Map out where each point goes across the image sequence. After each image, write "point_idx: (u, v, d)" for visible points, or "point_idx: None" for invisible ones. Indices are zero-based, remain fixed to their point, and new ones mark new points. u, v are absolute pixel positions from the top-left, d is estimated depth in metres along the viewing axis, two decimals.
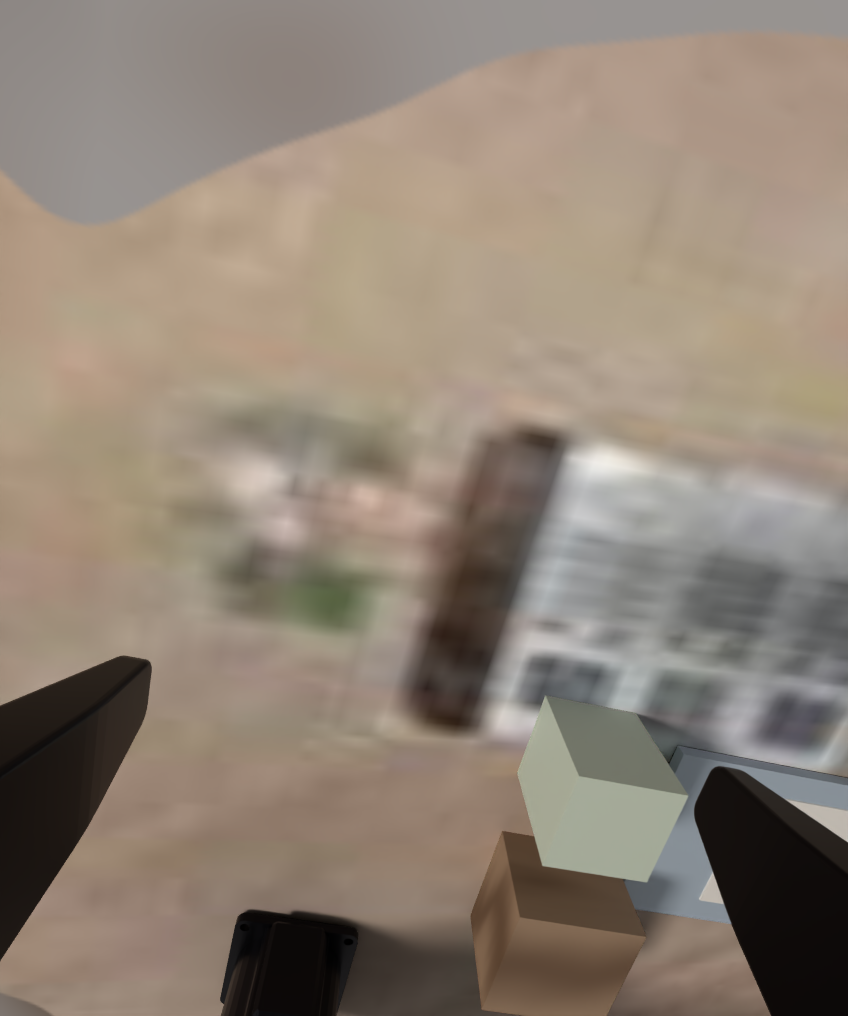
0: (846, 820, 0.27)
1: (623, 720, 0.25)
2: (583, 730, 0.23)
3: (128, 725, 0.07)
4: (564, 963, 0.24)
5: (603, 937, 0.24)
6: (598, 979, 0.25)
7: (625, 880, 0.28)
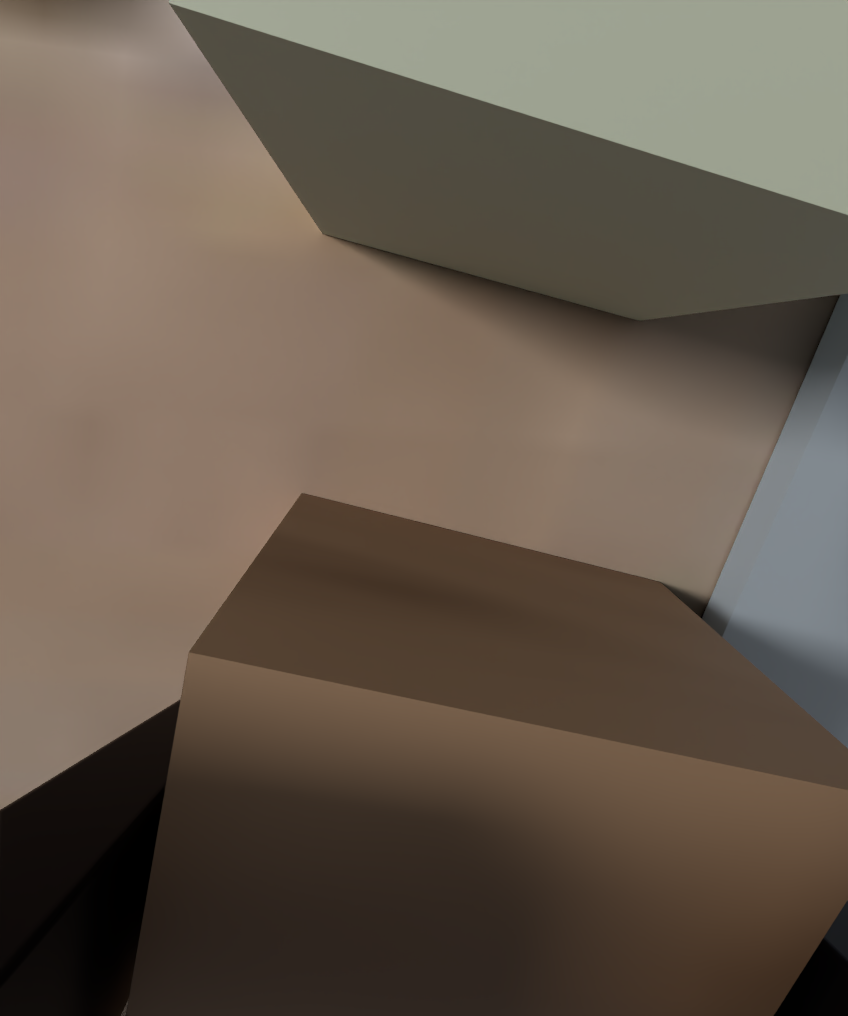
0: None
1: None
2: None
3: None
4: (476, 942, 0.05)
5: (682, 802, 0.04)
6: None
7: None
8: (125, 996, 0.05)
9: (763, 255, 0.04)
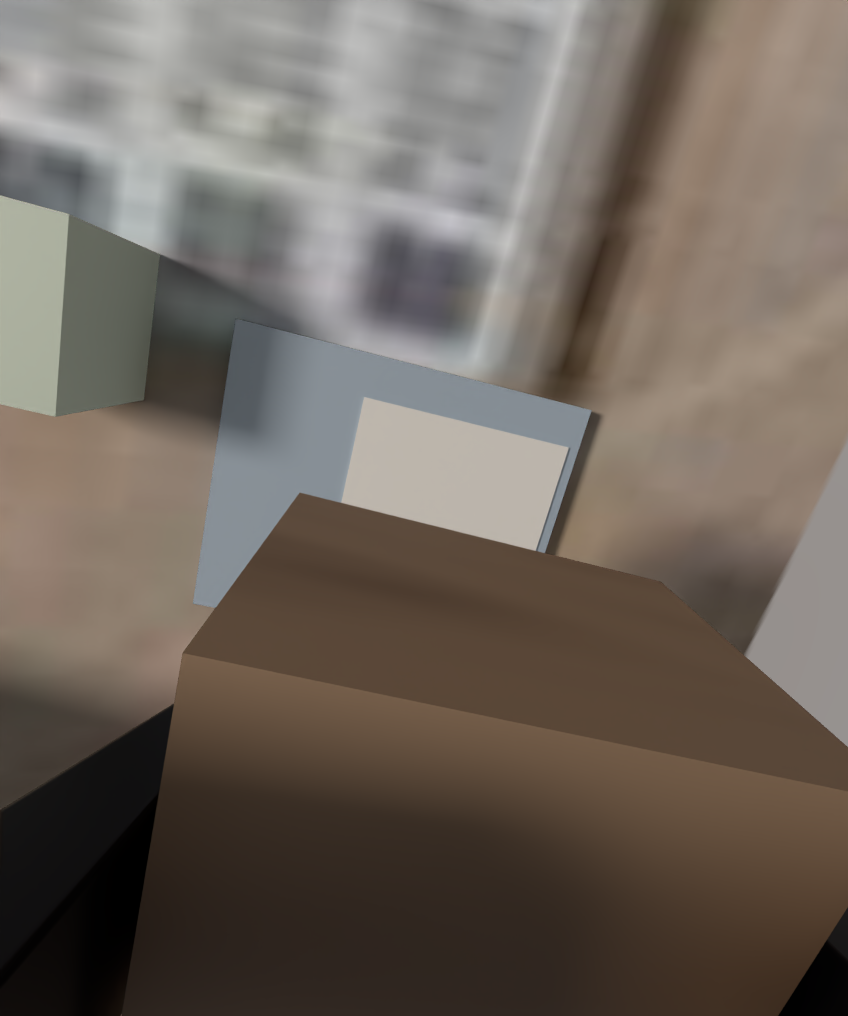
0: (514, 452, 0.18)
1: None
2: None
3: None
4: (476, 947, 0.05)
5: (683, 804, 0.04)
6: None
7: (200, 557, 0.19)
8: None
9: None
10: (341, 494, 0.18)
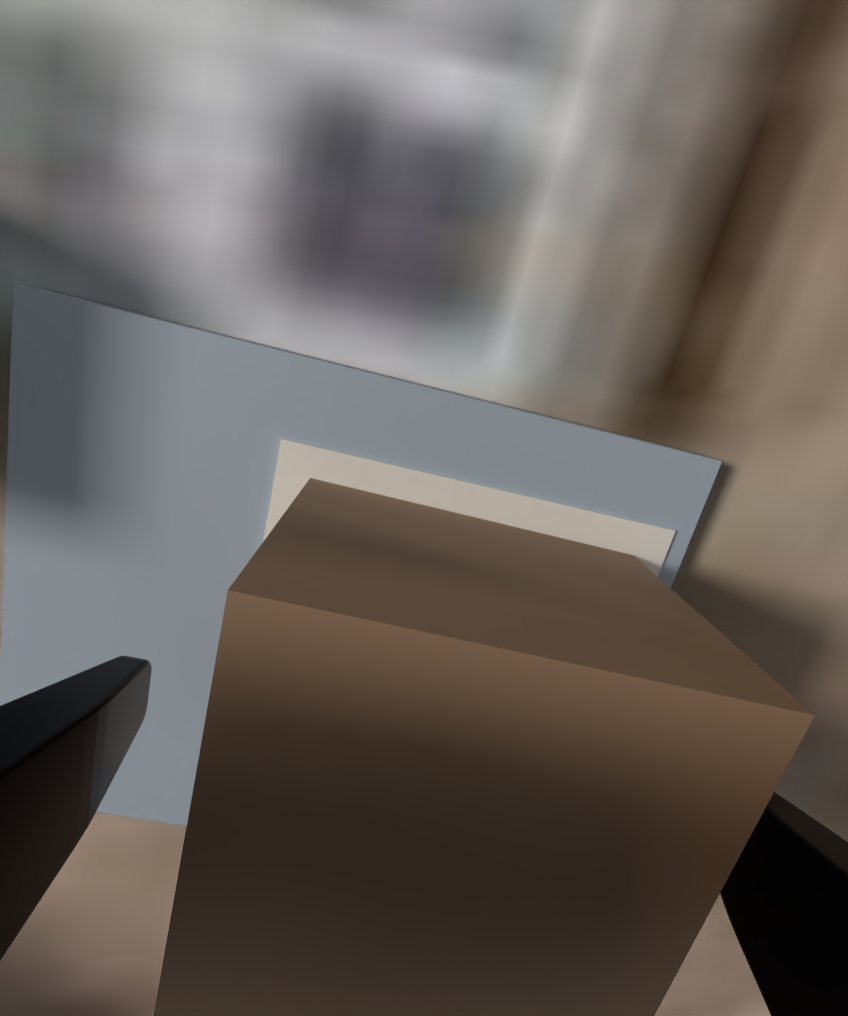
0: (572, 539, 0.10)
1: None
2: None
3: (128, 725, 0.07)
4: (462, 837, 0.06)
5: (628, 715, 0.05)
6: (602, 910, 0.06)
7: None
8: None
9: None
10: None
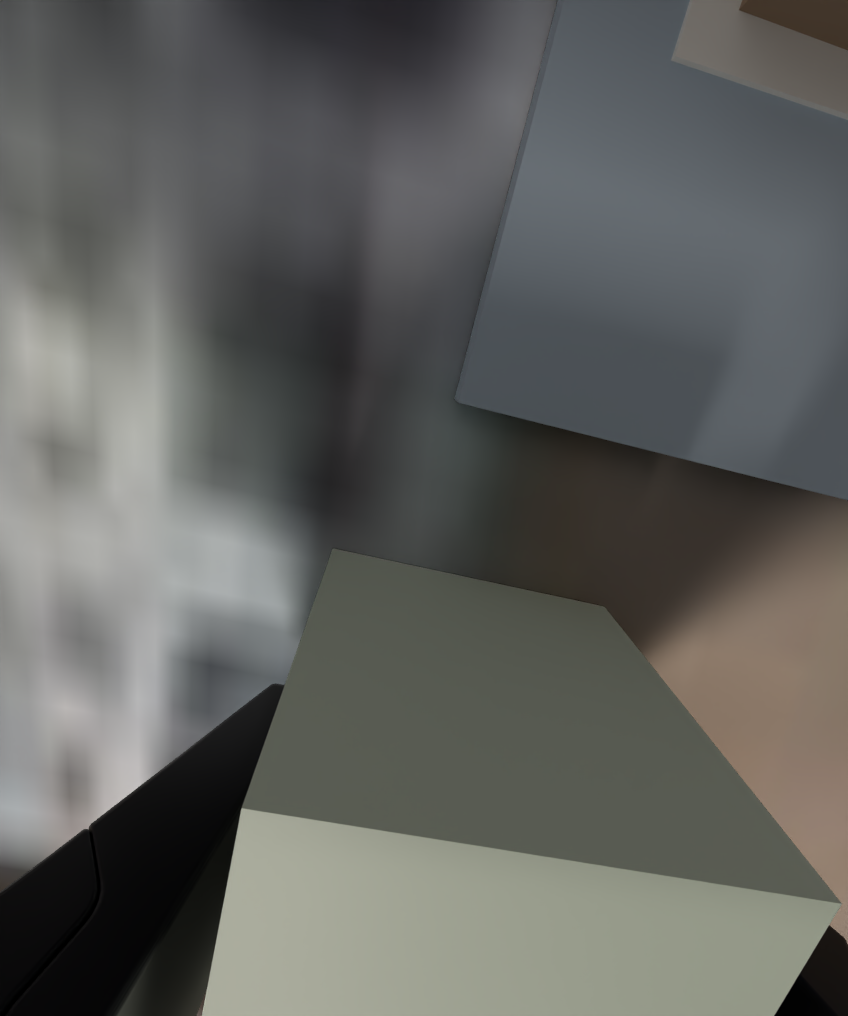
0: None
1: None
2: None
3: None
4: None
5: None
6: None
7: None
8: (198, 1005, 0.05)
9: None
10: None
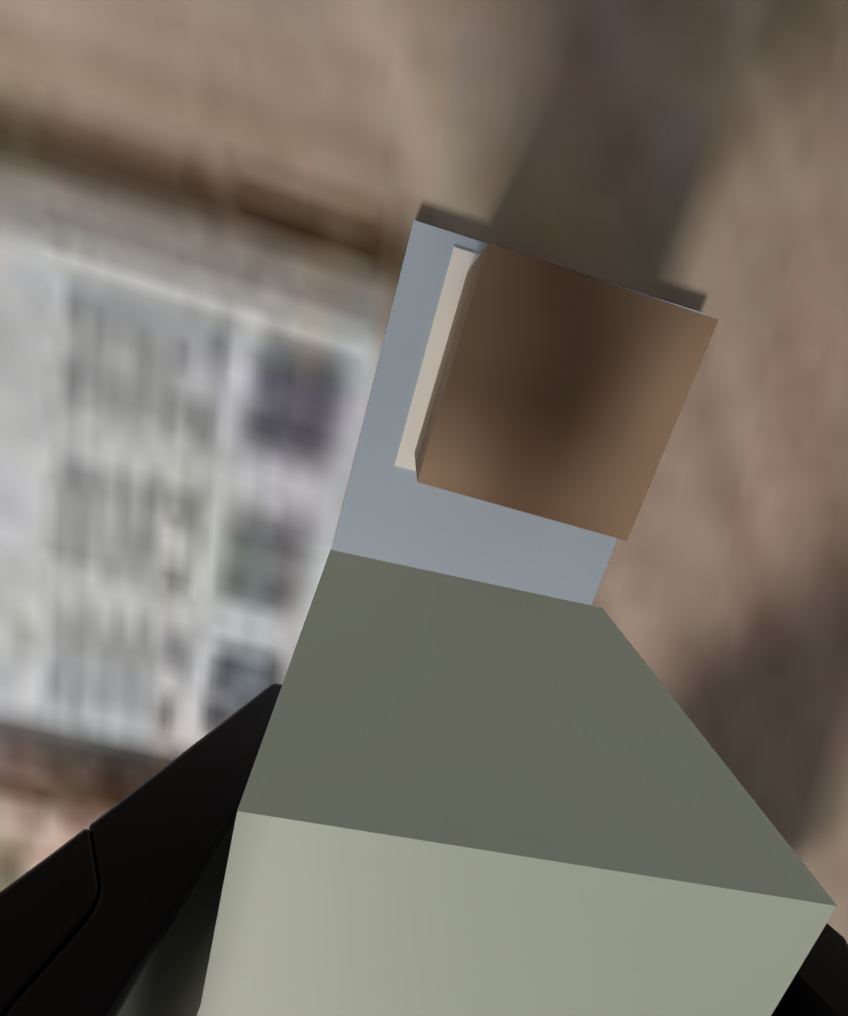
0: (455, 310, 0.17)
1: None
2: None
3: None
4: (535, 400, 0.14)
5: (480, 330, 0.13)
6: (587, 334, 0.13)
7: None
8: (198, 1005, 0.05)
9: None
10: None
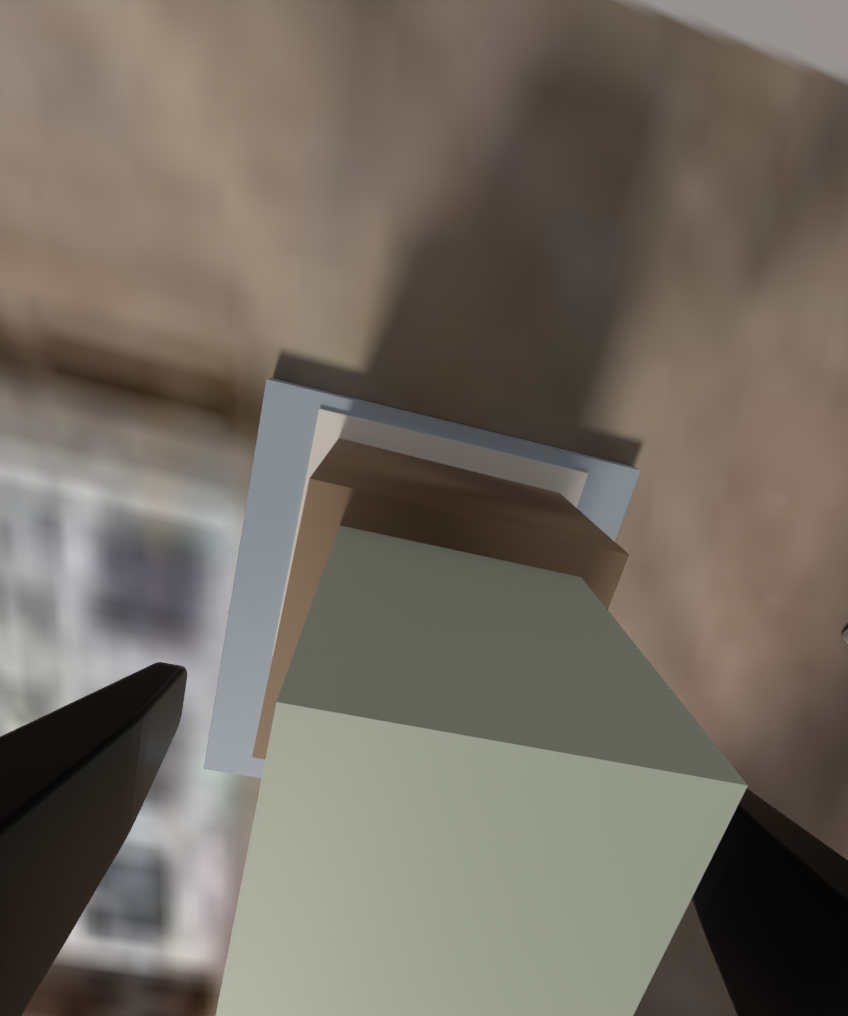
0: None
1: None
2: None
3: (166, 731, 0.07)
4: None
5: (312, 582, 0.10)
6: None
7: None
8: (32, 985, 0.05)
9: None
10: None
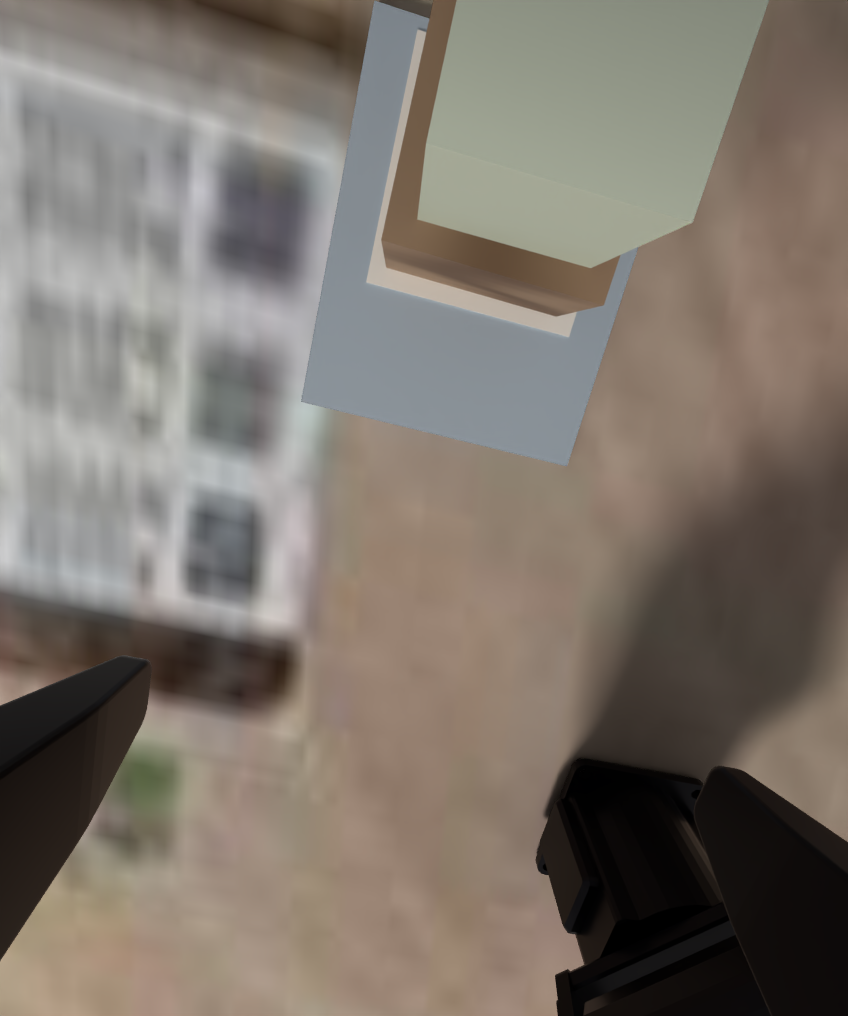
0: None
1: None
2: None
3: (128, 725, 0.07)
4: None
5: (440, 57, 0.12)
6: None
7: (520, 454, 0.20)
8: None
9: None
10: (463, 310, 0.18)
